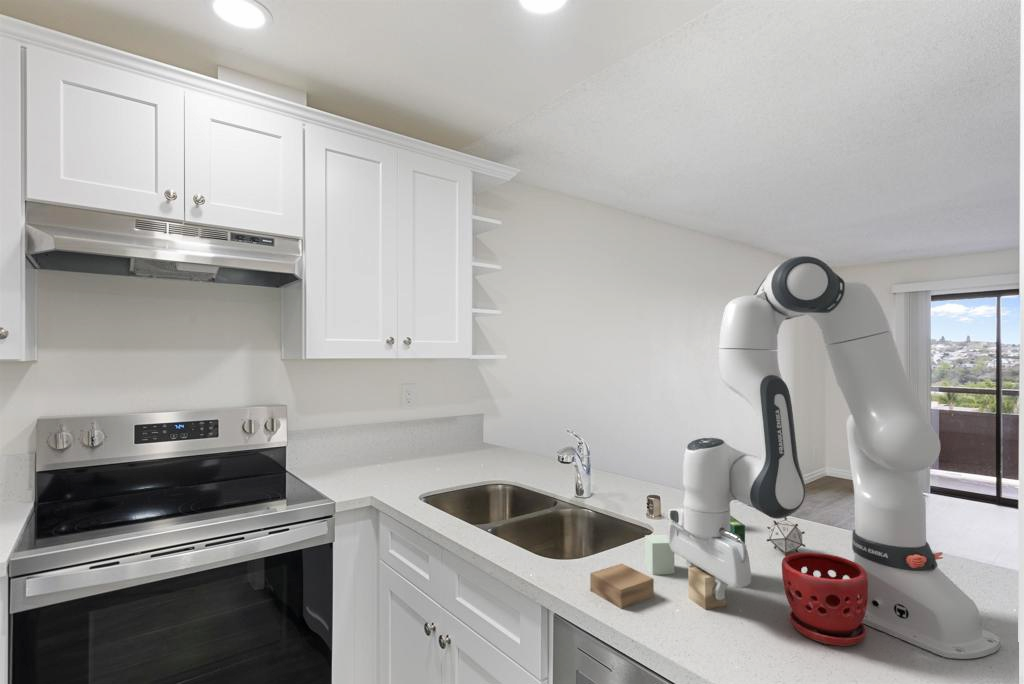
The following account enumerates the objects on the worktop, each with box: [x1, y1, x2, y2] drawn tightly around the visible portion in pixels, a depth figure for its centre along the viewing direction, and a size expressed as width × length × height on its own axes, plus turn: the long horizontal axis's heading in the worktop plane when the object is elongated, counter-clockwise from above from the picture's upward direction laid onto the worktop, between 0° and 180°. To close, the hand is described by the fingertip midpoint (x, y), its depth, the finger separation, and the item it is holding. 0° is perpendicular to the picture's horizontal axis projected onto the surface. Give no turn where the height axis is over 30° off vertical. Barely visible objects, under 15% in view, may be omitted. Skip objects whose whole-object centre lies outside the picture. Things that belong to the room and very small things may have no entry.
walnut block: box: [589, 563, 655, 610], centre depth 108 cm, size 9×9×4 cm
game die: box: [766, 517, 807, 557], centre depth 129 cm, size 9×8×10 cm
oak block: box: [687, 567, 727, 610], centre depth 104 cm, size 5×5×6 cm
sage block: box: [644, 534, 675, 576], centre depth 119 cm, size 5×5×7 cm
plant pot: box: [781, 552, 868, 647], centre depth 93 cm, size 13×13×12 cm
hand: (707, 590), depth 104 cm, fingers closed on oak block, 5 cm apart
